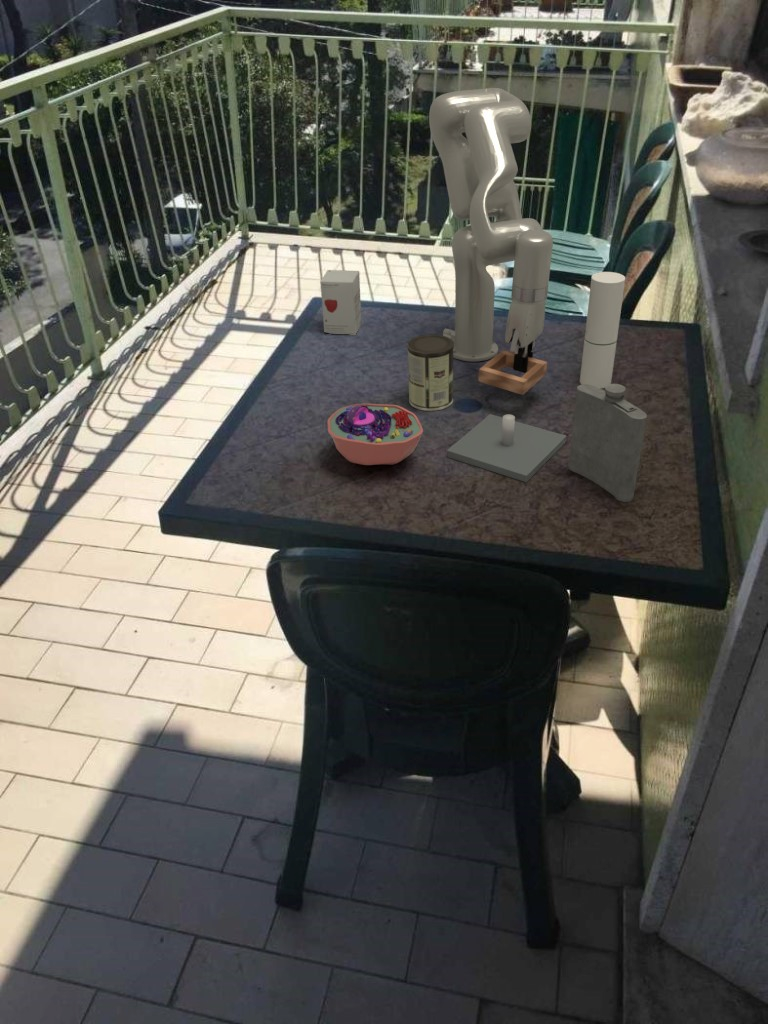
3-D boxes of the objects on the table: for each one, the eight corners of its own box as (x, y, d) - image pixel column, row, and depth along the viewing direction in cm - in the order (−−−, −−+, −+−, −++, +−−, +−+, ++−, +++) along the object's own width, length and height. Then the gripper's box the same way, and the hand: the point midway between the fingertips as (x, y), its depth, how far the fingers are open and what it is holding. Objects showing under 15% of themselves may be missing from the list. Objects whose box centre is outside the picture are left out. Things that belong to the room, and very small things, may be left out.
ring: (478, 381, 180) (479, 369, 178) (502, 361, 187) (503, 349, 185) (523, 394, 175) (524, 382, 173) (545, 374, 182) (547, 362, 180)
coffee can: (428, 386, 192) (428, 330, 184) (462, 399, 186) (463, 341, 178) (398, 402, 186) (397, 344, 178) (433, 415, 180) (433, 357, 172)
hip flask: (564, 466, 161) (574, 375, 150) (580, 460, 163) (591, 369, 152) (624, 504, 150) (640, 407, 139) (640, 496, 152) (656, 401, 140)
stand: (446, 456, 166) (447, 424, 162) (489, 420, 178) (491, 389, 174) (526, 482, 157) (528, 449, 153) (566, 442, 169) (569, 410, 165)
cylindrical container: (609, 375, 194) (623, 271, 179) (612, 388, 188) (627, 283, 173) (578, 374, 194) (589, 271, 180) (581, 388, 189) (593, 283, 174)
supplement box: (323, 335, 219) (318, 280, 211) (330, 322, 227) (326, 269, 218) (356, 336, 218) (353, 281, 209) (362, 323, 225) (359, 269, 217)
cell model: (396, 491, 156) (394, 440, 150) (312, 465, 166) (307, 415, 159) (439, 451, 168) (439, 402, 161) (358, 428, 177) (355, 381, 170)
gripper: (530, 275, 179) (523, 351, 190) (496, 300, 169) (490, 378, 180) (561, 282, 176) (552, 359, 187) (528, 308, 166) (520, 387, 177)
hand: (522, 368), depth 184 cm, fingers closed on ring, 1 cm apart
